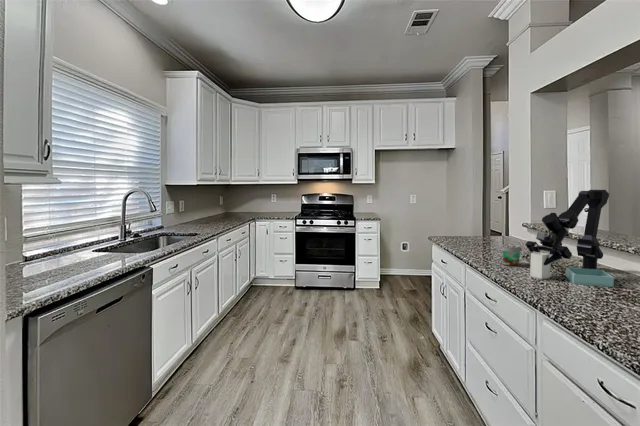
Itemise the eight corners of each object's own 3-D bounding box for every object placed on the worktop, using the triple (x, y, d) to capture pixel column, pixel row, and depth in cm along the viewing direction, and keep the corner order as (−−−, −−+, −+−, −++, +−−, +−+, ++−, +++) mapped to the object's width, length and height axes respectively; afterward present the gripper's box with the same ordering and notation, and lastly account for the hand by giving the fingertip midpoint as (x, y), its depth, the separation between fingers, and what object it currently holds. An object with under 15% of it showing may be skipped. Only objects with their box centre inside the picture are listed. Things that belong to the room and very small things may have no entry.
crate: (565, 275, 161) (565, 267, 161) (601, 278, 156) (602, 269, 155) (573, 283, 148) (573, 274, 148) (613, 286, 143) (613, 277, 143)
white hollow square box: (530, 276, 161) (530, 253, 160) (538, 275, 163) (539, 252, 162) (541, 279, 156) (542, 255, 155) (549, 278, 158) (550, 254, 157)
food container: (513, 268, 177) (514, 248, 177) (501, 265, 182) (502, 246, 182) (526, 264, 184) (526, 246, 183) (514, 262, 189) (514, 244, 188)
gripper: (528, 224, 167) (511, 248, 164) (568, 228, 150) (550, 256, 147) (539, 239, 171) (522, 263, 168) (579, 245, 154) (562, 272, 150)
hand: (538, 263), depth 158 cm, fingers closed on white hollow square box, 5 cm apart
